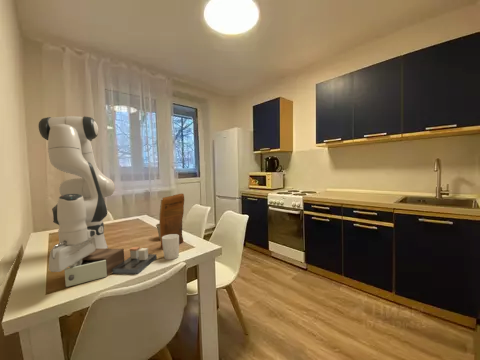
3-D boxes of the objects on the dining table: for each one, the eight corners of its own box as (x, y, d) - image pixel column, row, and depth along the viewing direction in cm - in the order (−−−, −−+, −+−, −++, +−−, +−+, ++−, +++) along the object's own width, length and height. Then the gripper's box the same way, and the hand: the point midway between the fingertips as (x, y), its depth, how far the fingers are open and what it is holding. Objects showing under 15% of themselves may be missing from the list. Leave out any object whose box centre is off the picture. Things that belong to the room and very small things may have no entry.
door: (65, 288, 81) (64, 271, 81) (66, 285, 83) (64, 268, 83) (107, 277, 89) (106, 261, 88) (106, 275, 91) (105, 259, 90)
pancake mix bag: (190, 240, 132) (188, 193, 131) (164, 251, 116) (161, 197, 114) (182, 239, 136) (179, 192, 134) (155, 249, 119) (152, 196, 118)
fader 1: (130, 258, 102) (129, 249, 102) (134, 256, 105) (133, 246, 105) (136, 258, 102) (135, 249, 102) (140, 256, 105) (139, 246, 105)
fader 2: (138, 260, 100) (138, 250, 100) (142, 257, 103) (141, 248, 103) (145, 260, 100) (144, 250, 99) (148, 257, 103) (148, 248, 102)
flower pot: (169, 240, 134) (168, 225, 134) (154, 240, 134) (153, 226, 134) (174, 235, 144) (173, 222, 143) (159, 236, 144) (159, 222, 143)
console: (112, 273, 92) (112, 268, 92) (134, 258, 108) (134, 253, 108) (137, 274, 91) (137, 269, 91) (156, 258, 107) (156, 254, 107)
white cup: (170, 261, 103) (169, 239, 102) (159, 258, 107) (158, 237, 106) (183, 255, 109) (182, 235, 109) (172, 252, 114) (171, 233, 113)
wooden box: (73, 274, 93) (72, 258, 92) (94, 263, 104) (93, 248, 103) (107, 275, 91) (106, 258, 91) (124, 263, 102) (123, 248, 102)
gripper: (60, 246, 75) (63, 286, 76) (98, 229, 96) (100, 261, 96) (41, 247, 75) (44, 287, 76) (83, 229, 96) (85, 261, 96)
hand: (76, 272), depth 86 cm, fingers closed
